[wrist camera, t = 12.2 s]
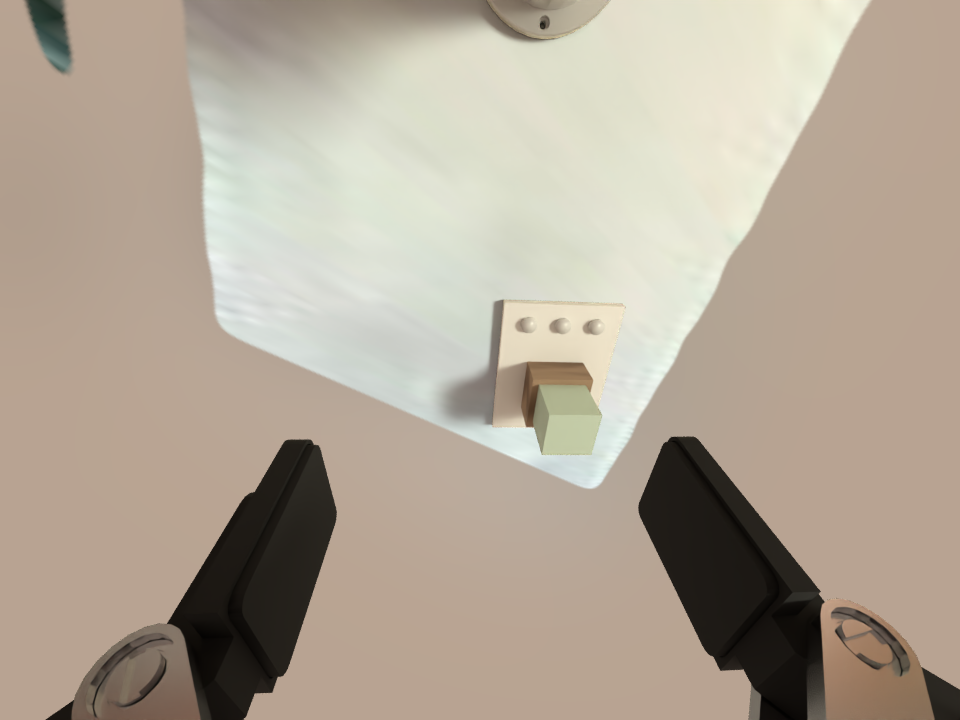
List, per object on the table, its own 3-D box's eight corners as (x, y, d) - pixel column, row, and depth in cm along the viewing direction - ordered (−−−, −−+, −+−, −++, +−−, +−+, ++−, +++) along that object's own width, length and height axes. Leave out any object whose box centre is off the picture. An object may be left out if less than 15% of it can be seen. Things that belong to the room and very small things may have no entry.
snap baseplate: (503, 299, 41) (505, 304, 40) (622, 303, 42) (627, 308, 41) (492, 422, 50) (493, 430, 49) (590, 423, 51) (593, 430, 50)
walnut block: (527, 361, 44) (533, 379, 41) (582, 362, 45) (593, 380, 41) (520, 407, 48) (525, 426, 44) (572, 407, 48) (581, 427, 45)
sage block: (538, 384, 41) (549, 414, 36) (585, 385, 42) (602, 415, 37) (532, 421, 44) (541, 454, 39) (576, 422, 44) (591, 454, 39)
